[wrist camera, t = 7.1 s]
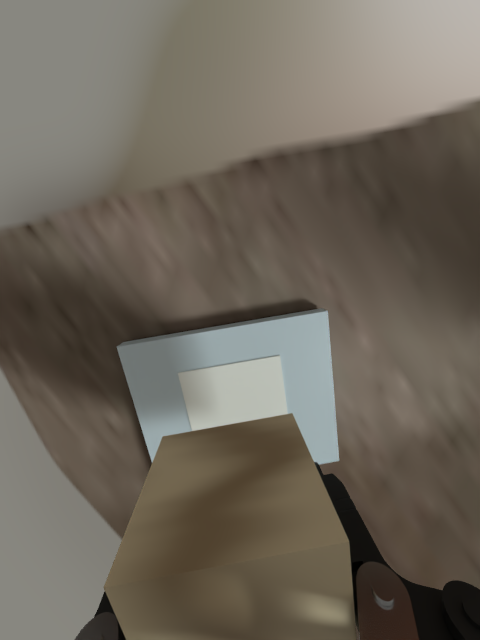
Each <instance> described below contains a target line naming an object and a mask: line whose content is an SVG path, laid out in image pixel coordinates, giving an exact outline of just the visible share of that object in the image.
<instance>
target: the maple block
mask: <svg viewBox="0 0 480 640" xmlns="http://www.w3.org/2000/svg"><path fill="white" fill-rule="evenodd" d="M104 590H105V592H106V594H107V597H108V599H109V601H110V604H111V606H112V608H113V610H114V613H115V615H116V617H117V620H118V622H119V624H120V627H121V629H122V631H123V633H124V636H125V638H126V640H357V638H356V625H355V612H354V598H353V585H352V571H351V558H350V544H349V540H348V538H347V535H346V533H345V531H344V528H343V526H342V524H341V522H340V519H339V517H338V515H337V513H336V510H335V508H334V506H333V504H332V501H331V499H330V497H329V495H328V492H327V490H326V488H325V486H324V483H323V481H322V479H321V477H320V474H319V472H318V470H317V468H316V465H315V463H314V461H313V459H312V456H311V454H310V452H309V450H308V447H307V445H306V443H305V441H304V438H303V436H302V434H301V432H300V429H299V427H298V425H297V423H296V420H295V418H294V416H293V414H292V413H290V414H285V415H279V416H274V417H268V418H262V419H257V420H251V421H246V422H240V423H235V424H229V425H224V426H218V427H212V428H207V429H201V430H196V431H190V432H185V433H179V434H173V435H168V436H163V437H162V439H161V442H160V445H159V447H158V450H157V452H156V455H155V457H154V460H153V462H152V465H151V468H150V470H149V473H148V475H147V478H146V480H145V483H144V485H143V488H142V491H141V493H140V496H139V498H138V501H137V503H136V506H135V509H134V511H133V514H132V516H131V519H130V521H129V524H128V526H127V529H126V532H125V534H124V537H123V539H122V542H121V544H120V547H119V549H118V552H117V555H116V557H115V560H114V562H113V565H112V568H111V570H110V573H109V575H108V578H107V581H106V583H105V585H104Z"/></svg>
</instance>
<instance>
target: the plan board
mask: <svg viewBox="0 0 480 640" xmlns="http://www.w3.org/2000/svg"><path fill="white" fill-rule="evenodd" d="M117 350H118V353H119V357H120V360H121V363H122V367H123V370H124V373H125V376H126V380H127V383H128V386H129V389H130V393H131V396H132V399H133V402H134V406H135V409H136V412H137V415H138V419H139V422H140V425H141V429H142V432H143V435H144V438H145V442H146V445H147V448H148V451H149V455H150V458H151V461H152V462H153V460H154V457H155V455H156V452H157V450H158V447H159V445H160V442H161V439H162V437H163V436H168V435H173V434H179V433H185V432H190V431H196V430H201V429H207V428H212V427H218V426H224V425H229V424H235V423H240V422H246V421H251V420H257V419H262V418H268V417H274V416H279V415H285V414H290V413H292V414H293V416H294V418H295V420H296V423H297V425H298V427H299V429H300V432H301V434H302V436H303V438H304V441H305V443H306V445H307V447H308V450H309V452H310V454H311V456H312V459H313V461H314V462H317V463H318V464H324V463H330V462H335V461H339V452H338V439H337V426H336V413H335V400H334V387H333V374H332V361H331V347H330V334H329V321H328V311H327V310H325V309H322V308H320V309H314V310H309V311H303V312H297V313H291V314H285V315H279V316H273V317H267V318H262V319H256V320H250V321H244V322H238V323H232V324H226V325H221V326H215V327H209V328H203V329H197V330H191V331H185V332H179V333H174V334H168V335H162V336H156V337H150V338H144V339H138V340H132V341H127V342H123V343H121V344H120V345H119V346H117Z"/></svg>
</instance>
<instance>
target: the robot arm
mask: <svg viewBox="0 0 480 640" xmlns="http://www.w3.org/2000/svg"><path fill="white" fill-rule="evenodd" d="M314 463H315V465H316V468H317V470H318V472H319V474H320V477H321V479H322V481H323V483H324V486H325V488H326V490H327V492H328V495H329V497H330V499H331V501H332V504H333V506H334V508H335V510H336V513H337V515H338V517H339V519H340V522H341V524H342V526H343V528H344V531H345V533H346V535H347V538H348V540H349V544H350V558H351V571H352V585H353V598H354V612H355V623H356V626H357V629H358V631H359V637H360V640H480V590H479V589H478V588H476V587H474V586H473V585H470V584H468V583H465V582H462V581H450V582H448V583H447V584H446V585H445V586H444V588H443V591H442V590H438V589H434V588H430V587H426V586H422V585H418V584H415V583H412V582H410V581H407V580H406V579H404V578H402V577H401V576H399V575H398V574H397V573H396V572H395V571H393V570H392V569H391V568H390V566H389V565H388V564H387V563H386V562H385V560H384V559H383V557H382V556H381V554H380V552H379V550H378V548H377V546H376V545H375V543H374V541H373V539H372V537H371V535H370V533H369V531H368V530H367V528H366V526H365V524H364V522H363V520H362V518H361V516H360V515H359V513H358V511H357V510H356V507H355V505H354V503H353V502H352V500H351V499H350V496H349V494H348V492H347V490H346V488H345V487H344V485H343V483H342V482H341V481H340V480H339V479H338V478H337V477H336V476H335V475H334V474H327V475H323V473H322V471H321V469H320V467H319V465H318V463H317V462H314ZM75 640H126V638H125V636H124V633H123V631H122V629H121V627H120V624H119V622H118V620H117V617H116V615H115V613H114V610H113V608H112V606H111V604H110V601H109V599H108V597H107V594H106V592H104V595H103V597H102V600H101V603H100V605H99V608H98V610H97V612H96V614H95V617H94V618H93V619H92V620H91V621H89V622H88V623H87V624H86V625H85V626H84V627H83V629H82V630H81V631H80V633H79V634H78V636H77V637H76V639H75Z"/></svg>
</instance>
